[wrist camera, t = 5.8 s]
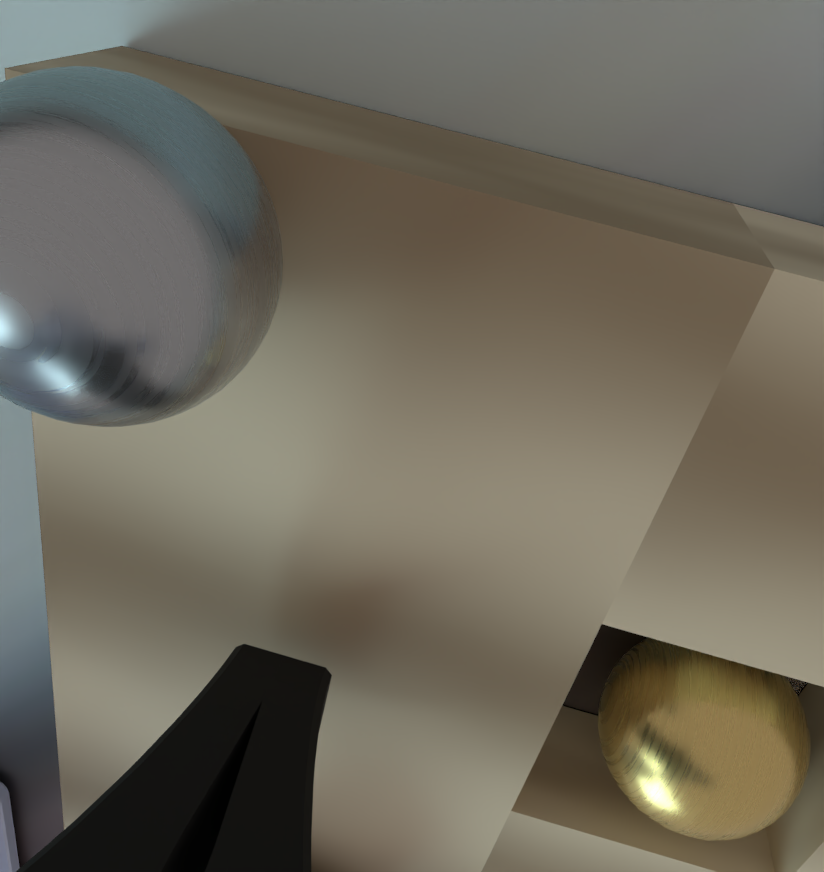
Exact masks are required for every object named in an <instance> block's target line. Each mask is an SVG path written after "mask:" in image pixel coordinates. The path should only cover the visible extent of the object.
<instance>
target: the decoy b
mask: <svg viewBox="0 0 824 872" xmlns="http://www.w3.org/2000/svg"><path fill="white" fill-rule="evenodd" d="M282 270H283V253H282V240H281V233H280V228H279V223H278V218H277V214H276V211H275V208H274V205H273V202H272V199H271V196H270V194H269V192H268V190H267V188H266V185H265V183H264V181H263V179H262V177H261V175H260V173H259V172H258V170H257V168H256V167H255V165H254V164H253V162H252V160H251V159H250V157H249V156H248V154H247V153H246V152H245V150H244V149H243V148H242V147H241V145H240V144H239V143H238V141H237V140H236V139H235V138H234V137H233V136H232V135H231V134H230V132H229V131H228V130H227V129H226V128H225V127H224V126H223V125H222V124H221V123H220V122H219V121H218V120H216V119H215V118H214V117H213V116H211V115H210V114H209V113H208V112H207V111H205V110H204V109H203V108H202V107H200V106H199V105H197V104H196V103H194V102H193V101H191V100H189V99H188V98H186V97H185V96H183V95H182V94H180V93H178V92H176V91H174V90H172V89H170V88H168V87H166V86H164V85H162V84H160V83H157V82H155V81H153V80H150V79H147V78H144V77H141V76H138V75H135V74H132V73H127V72H122V71H117V70H111V69H106V68H100V67H88V66H68V67H57V68H49V69H42V70H36V71H33V72H30V73H27V74H23V75H20V76H17V77H14V78H11V79H8V80H5V81H3V82H1V83H0V395H1V396H2V397H4V398H6V399H8V400H9V401H11V402H13V403H15V404H17V405H19V406H21V407H24V408H26V409H28V410H30V411H33V412H35V413H38V414H41V415H44V416H47V417H50V418H52V419H55V420H59V421H64V422H68V423H73V424H80V425H89V426H99V427H124V426H132V425H139V424H146V423H152V422H156V421H159V420H162V419H166V418H169V417H172V416H175V415H178V414H181V413H183V412H185V411H187V410H189V409H191V408H193V407H196V406H197V405H199V404H201V403H202V402H204V401H206V400H207V399H209V398H210V397H212V396H213V395H215V394H216V393H218V392H219V391H221V390H222V389H223V388H224V387H225V386H226V385H227V384H228V383H229V382H230V381H231V380H233V379H234V378H235V377H236V376H237V375H238V374H239V373H240V372H241V371H242V370H243V369H244V368H245V366H246V365H247V364H248V362H249V361H250V360H251V358H252V357H253V356H254V354H255V353H256V351H257V350H258V348H259V347H260V345H261V343H262V341H263V339H264V338H265V336H266V334H267V332H268V330H269V328H270V325H271V322H272V319H273V316H274V313H275V311H276V307H277V304H278V301H279V295H280V290H281V285H282Z"/></svg>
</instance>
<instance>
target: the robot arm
mask: <svg viewBox="0 0 824 872" xmlns="http://www.w3.org/2000/svg"><path fill="white" fill-rule="evenodd" d="M331 677H332V675H331V673H330V672H329V671H328V670H327V668H326V667H322V666H319V665H316V664H312V663H309V662H305V661H302V660H298V659H295V658H292V657H288V656H285V655H281V654H278V653H274V652H271V651H268V650H264V649H261V648H257V647H254V646H250V645H247V644H242V645H240V646H237V647H235V649H234V650H233V652H232V653H231V654H230V656H229V657H228V658H227V660H226V661H225V662H224V664H223V665H222V666H221V668H220V669H219V670H218V671H217V673H216V674H215V675H214V676H213V678H212V679H211V680H210V681H209V683H208V684H207V685H206V686H205V687H204V689H203V690H202V691H201V692H200V693H199V694H198V696H197V697H196V698H195V699H194V700H193V701H192V702H191V704H190V705H189V706H188V707H187V708H186V709H185V710H184V711H183V713H182V714H181V715H180V716H179V717H178V718H177V719H176V720H175V722H174V723H173V724H172V725H171V726H170V727H169V728H168V729H167V730H166V731H165V732H164V733H163V734H162V735H161V736H160V737H159V738H158V739H157V740H156V742H155V743H154V744H153V745H152V746H151V747H150V748H149V749H148V750H147V751H146V752H145V753H144V754H143V755H142V756H141V757H140V758H139V759H138V760H137V761H136V762H135V763H134V764H133V765H132V766H131V767H130V768H129V769H128V770H127V771H126V772H125V773H124V774H123V775H122V776H121V777H120V778H119V779H118V780H117V781H116V782H115V783H114V784H113V785H112V786H111V787H110V788H109V789H108V790H107V791H105V792H104V793H103V794H102V795H101V796H100V797H99V798H98V799H97V800H96V801H95V802H94V803H93V804H92V805H91V806H90V807H89V808H88V809H86V810H85V811H84V812H83V813H82V814H81V815H80V816H79V817H78V818H77V819H76V820H75V821H74V822H73V823H71V824H70V825H69V826H68V827H67V828H66V829H65V830H64V831H62V832H61V833H60V834H59V835H58V836H57V837H56V838H55V839H53V840H52V841H51V842H50V843H49V844H48V845H47V846H45V847H44V848H43V849H42V850H41V851H40V852H38V853H37V854H36V855H35V856H34V857H33V858H31V859H30V860H29V861H28V862H27V863H25V864H24V865H23V866H22V867H21V868H20V867H19V860H18V853H17V846H16V839H15V832H14V825H13V818H12V810H11V803H10V796H9V791H8V789H7V787H6V786H5V785H4V784H3V783H2V782H1V781H0V872H311V834H312V808H313V784H314V770H315V759H316V750H317V741H318V734H319V730H320V725H321V721H322V716H323V712H324V708H325V703H326V699H327V695H328V690H329V686H330V682H331Z"/></svg>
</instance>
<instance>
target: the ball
mask: <svg viewBox="0 0 824 872" xmlns="http://www.w3.org/2000/svg"><path fill="white" fill-rule="evenodd" d="M598 731H599V739H600V744H601V748H602V751H603V755H604V758H605V761H606V763H607V766H608V768H609V770H610V772H611V774H612V776H613V778H614V779H615V781H616V783H617V785H618V786H619V787H620V789H621V790H622V791H623V793H624V794H625V795H626V796H627V798H628V799H629V800H630V801H631V802H632V803H633V804H634V805H635V806H636V807H637V808H638V809H639V810H640V811H641V812H643V813H644V814H645V815H646V816H648V817H649V818H650V819H652V820H653V821H655V822H657V823H658V824H660V825H662V826H663V827H665V828H667V829H669V830H671V831H674V832H676V833H678V834H681V835H685V836H689V837H692V838H696V839H702V840H710V841H718V840H732V839H738V838H743V837H746V836H748V835H751V834H754V833H757V832H759V831H761V830H763V829H764V828H766V827H768V826H769V825H771V824H773V823H774V822H775V821H776V820H778V819H779V818H780V817H781V816H782V815H783V814H784V813H785V812H786V811H787V810H788V809H789V808H790V807H791V805H792V804H793V802H794V801H795V799H796V798H797V796H798V795H799V793H800V791H801V789H802V786H803V784H804V781H805V778H806V775H807V771H808V767H809V761H810V735H809V728H808V723H807V719H806V715H805V712H804V710H803V707H802V704H801V702H800V700H799V697H798V696H797V694H796V692H795V690H794V689H793V687H792V685H791V684H790V682H789V681H788V679H787V678H786V677H785V676H783V675H780V674H776V673H773V672H769V671H766V670H762V669H758V668H755V667H751V666H748V665H744V664H741V663H737V662H734V661H730V660H727V659H723V658H720V657H716V656H713V655H709V654H705V653H702V652H698V651H695V650H691V649H688V648H684V647H681V646H677V645H674V644H670V643H667V642H663V641H660V640H656V639H653V638H646V639H644V640H643V641H641V642H640V643H638V644H637V645H635V646H634V647H632V648H631V649H630V650H629V651H628V652H627V653H626V654H625V655H624V656H623V657H622V658H621V659H620V660H619V661H618V663H617V664H616V665H615V667H614V668H613V669H612V671H611V673H610V675H609V677H608V679H607V681H606V683H605V685H604V688H603V691H602V694H601V698H600V703H599V712H598Z"/></svg>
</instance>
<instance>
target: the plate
mask: <svg viewBox="0 0 824 872" xmlns="http://www.w3.org/2000/svg"><path fill="white" fill-rule="evenodd" d="M68 66H88V67H100V68H106V69H111V70H117V71H122V72H127V73H132V74H135V75H138V76H141V77H144V78H147V79H150V80H153V81H155V82H157V83H160V84H162V85H164V86H166V87H168V88H170V89H172V90H174V91H176V92H178V93H180V94H182V95H183V96H185V97H186V98H188V99H189V100H191V101H193V102H194V103H196V104H197V105H199V106H200V107H202V108H203V109H204V110H205V111H207V112H208V113H209V114H210V115H211V116H213V117H214V118H215V119H216V120H218V121H219V122H220V123H221V124H222V125H223V126H224V127H225V128H226V129H227V130H228V131H229V132H230V134H231V135H232V136H233V137H234V138H235V139H236V140H237V141H238V143H239V144H240V145H241V147H242V148H243V149H244V150H245V152H246V153H247V154H248V156H249V157H250V159H251V160H252V162H253V164H254V165H255V167H256V168H257V170H258V172H259V173H260V175H261V177H262V179H263V181H264V183H265V185H266V188H267V190H268V192H269V194H270V196H271V199H272V202H273V205H274V208H275V211H276V214H277V218H278V223H279V228H280V233H281V240H282V253H283V270H282V285H281V290H280V295H279V301H278V304H277V307H276V311H275V313H274V316H273V319H272V322H271V325H270V328H269V330H268V332H267V334H266V336H265V338H264V339H263V341H262V343H261V345H260V347H259V348H258V350H257V351H256V353H255V354H254V356H253V357H252V358H251V360H250V361H249V362H248V364H247V365H246V366H245V368H244V369H243V370H242V371H241V372H240V373H239V374H238V375H237V376H236V377H235V378H234V379H233V380H231V381H230V382H229V383H228V384H227V385H226V386H225V387H224V388H223V389H222V390H221V391H219V392H218V393H216V394H215V395H213V396H212V397H210V398H209V399H207V400H206V401H204V402H202V403H201V404H199V405H197V406H196V407H193V408H191V409H189V410H187V411H185V412H183V413H181V414H178V415H175V416H172V417H169V418H166V419H162V420H159V421H156V422H152V423H146V424H139V425H132V426H124V427H99V426H89V425H80V424H73V423H68V422H64V421H59V420H55V419H52V418H50V417H47V416H44V415H41V414H38V413H35V412H33V411H31V412H32V425H33V437H34V450H35V463H36V476H37V489H38V502H39V515H40V527H41V540H42V553H43V566H44V579H45V592H46V604H47V617H48V630H49V643H50V656H51V669H52V682H53V694H54V707H55V720H56V733H57V746H58V759H59V772H60V784H61V797H62V810H63V823H64V830H65V829H66V828H67V827H68V826H69V825H70V824H71V823H73V822H74V821H75V820H76V819H77V818H78V817H79V816H80V815H81V814H82V813H83V812H84V811H85V810H86V809H88V808H89V807H90V806H91V805H92V804H93V803H94V802H95V801H96V800H97V799H98V798H99V797H100V796H101V795H102V794H103V793H104V792H105V791H107V790H108V789H109V788H110V787H111V786H112V785H113V784H114V783H115V782H116V781H117V780H118V779H119V778H120V777H121V776H122V775H123V774H124V773H125V772H126V771H127V770H128V769H129V768H130V767H131V766H132V765H133V764H134V763H135V762H136V761H137V760H138V759H139V758H140V757H141V756H142V755H143V754H144V753H145V752H146V751H147V750H148V749H149V748H150V747H151V746H152V745H153V744H154V743H155V742H156V740H157V739H158V738H159V737H160V736H161V735H162V734H163V733H164V732H165V731H166V730H167V729H168V728H169V727H170V726H171V725H172V724H173V723H174V722H175V720H176V719H177V718H178V717H179V716H180V715H181V714H182V713H183V711H184V710H185V709H186V708H187V707H188V706H189V705H190V704H191V702H192V701H193V700H194V699H195V698H196V697H197V696H198V694H199V693H200V692H201V691H202V690H203V689H204V687H205V686H206V685H207V684H208V683H209V681H210V680H211V679H212V678H213V676H214V675H215V674H216V673H217V671H218V670H219V669H220V668H221V666H222V665H223V664H224V662H225V661H226V660H227V658H228V657H229V656H230V654H231V653H232V652H233V650H234V649H235V647H237V646H240V645H242V644H247V645H250V646H254V647H257V648H261V649H264V650H268V651H271V652H274V653H278V654H281V655H285V656H288V657H292V658H295V659H298V660H302V661H305V662H309V663H312V664H316V665H319V666H322V667H326V668H327V670H328V671H329V672H330V673H331V675H332V677H331V682H330V686H329V690H328V695H327V699H326V703H325V708H324V712H323V716H322V721H321V725H320V730H319V734H318V741H317V750H316V759H315V770H314V784H313V808H312V834H311V872H824V227H823V226H819V225H815V224H811V223H807V222H803V221H800V220H796V219H792V218H788V217H784V216H780V215H776V214H772V213H769V212H765V211H761V210H757V209H753V208H749V207H745V206H741V205H737V204H734V203H730V202H726V201H722V200H718V199H714V198H710V197H706V196H703V195H699V194H695V193H691V192H687V191H683V190H679V189H675V188H671V187H668V186H664V185H660V184H656V183H652V182H648V181H644V180H640V179H637V178H633V177H629V176H625V175H621V174H617V173H613V172H609V171H605V170H602V169H598V168H594V167H590V166H586V165H582V164H578V163H574V162H570V161H567V160H563V159H559V158H555V157H551V156H547V155H543V154H539V153H536V152H532V151H528V150H524V149H520V148H516V147H512V146H508V145H504V144H501V143H497V142H493V141H489V140H485V139H481V138H477V137H473V136H470V135H466V134H462V133H458V132H454V131H450V130H446V129H442V128H438V127H435V126H431V125H427V124H423V123H419V122H415V121H411V120H407V119H403V118H400V117H396V116H392V115H388V114H384V113H380V112H376V111H372V110H369V109H365V108H361V107H357V106H353V105H349V104H345V103H341V102H337V101H334V100H330V99H326V98H322V97H318V96H314V95H310V94H306V93H303V92H299V91H295V90H291V89H287V88H283V87H279V86H275V85H271V84H268V83H264V82H260V81H256V80H252V79H248V78H244V77H240V76H237V75H233V74H229V73H225V72H221V71H217V70H213V69H209V68H205V67H202V66H198V65H194V64H190V63H186V62H182V61H178V60H174V59H170V58H167V57H163V56H159V55H155V54H151V53H147V52H143V51H139V50H136V49H132V48H128V47H124V46H120V47H115V48H109V49H104V50H99V51H93V52H88V53H83V54H77V55H72V56H67V57H62V58H56V59H51V60H46V61H40V62H35V63H30V64H25V65H19V66H14V67H9V68H5V78H6V80H8V79H11V78H14V77H17V76H20V75H23V74H27V73H30V72H33V71H36V70H42V69H49V68H57V67H68ZM602 624H603V625H607V626H610V627H614V628H617V629H621V630H624V631H628V632H631V633H635V634H638V635H642V636H645V637H649V638H653V639H656V640H660V641H663V642H667V643H670V644H674V645H677V646H681V647H684V648H688V649H691V650H695V651H698V652H702V653H705V654H709V655H713V656H716V657H720V658H723V659H727V660H730V661H734V662H737V663H741V664H744V665H748V666H751V667H755V668H758V669H762V670H766V671H769V672H773V673H776V674H780V675H783V676H787V677H790V678H794V679H797V680H801V681H804V682H808V684H807V685H806V687H805V688H804V689H803V691H802V692H801V693H800V695H799V696H798V697H799V700H800V702H801V704H802V707H803V710H804V712H805V715H806V719H807V723H808V728H809V735H810V761H809V767H808V771H807V775H806V778H805V781H804V784H803V786H802V789H801V791H800V793H799V795H798V796H797V798H796V799H795V801H794V802H793V804H792V805H791V807H790V808H789V809H788V810H787V811H786V812H785V813H784V814H783V815H782V816H781V817H780V818H779V819H778V820H776V821H775V822H774V823H773V824H771V825H769V826H768V827H766V828H764V829H763V830H761V831H759V832H757V833H754V834H751V835H748V836H746V837H743V838H738V839H732V840H718V841H710V840H702V839H696V838H692V837H689V836H685V835H681V834H678V833H676V832H674V831H671V830H669V829H667V828H665V827H663V826H662V825H660V824H658V823H657V822H655V821H653V820H652V819H650V818H649V817H648V816H646V815H645V814H644V813H643V812H641V811H640V810H639V809H638V808H637V807H636V806H635V805H634V804H633V803H632V802H631V801H630V800H629V799H628V798H627V796H626V795H625V794H624V793H623V791H622V790H621V789H620V787H619V786H618V785H617V783H616V781H615V779H614V778H613V776H612V774H611V772H610V770H609V768H608V766H607V763H606V761H605V758H604V755H603V751H602V748H601V744H600V739H599V731H598V716H596V715H593V714H589V713H586V712H583V711H579V710H576V709H572V708H569V707H565V706H562V705H563V703H564V701H565V699H566V697H567V695H568V693H569V691H570V689H571V686H572V684H573V682H574V680H575V678H576V676H577V674H578V672H579V670H580V668H581V666H582V664H583V662H584V660H585V658H586V656H587V654H588V652H589V650H590V647H591V645H592V643H593V641H594V639H595V637H596V635H597V633H598V631H599V629H600V627H601V625H602Z"/></svg>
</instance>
